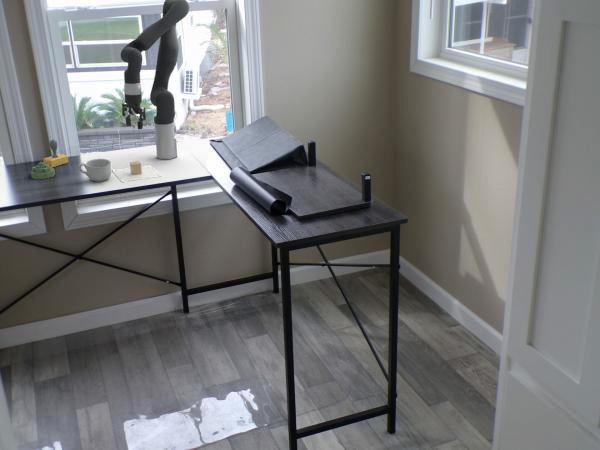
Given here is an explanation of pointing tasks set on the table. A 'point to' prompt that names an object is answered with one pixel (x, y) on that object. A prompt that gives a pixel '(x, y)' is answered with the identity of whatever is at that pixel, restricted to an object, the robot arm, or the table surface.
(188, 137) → the table surface
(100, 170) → the teacup
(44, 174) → the decorative artifact
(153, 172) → the square lid with knob
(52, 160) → the rubber stamp
